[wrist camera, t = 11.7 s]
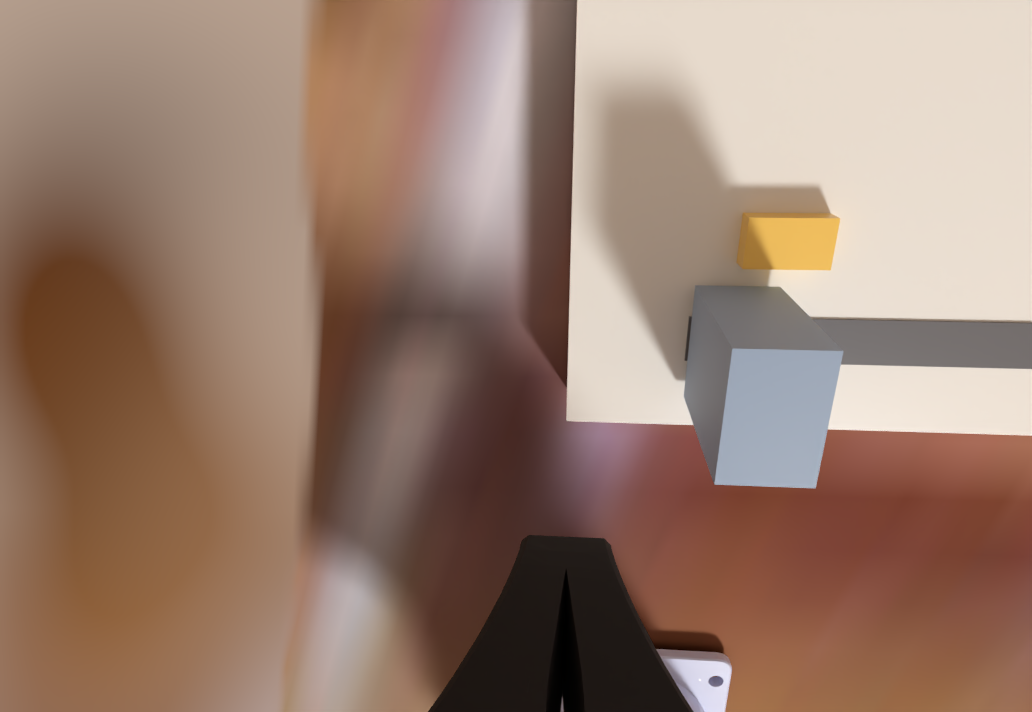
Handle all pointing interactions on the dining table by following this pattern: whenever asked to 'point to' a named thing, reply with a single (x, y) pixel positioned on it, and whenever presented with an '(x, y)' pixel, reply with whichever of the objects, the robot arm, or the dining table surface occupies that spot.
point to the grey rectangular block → (759, 386)
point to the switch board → (807, 199)
